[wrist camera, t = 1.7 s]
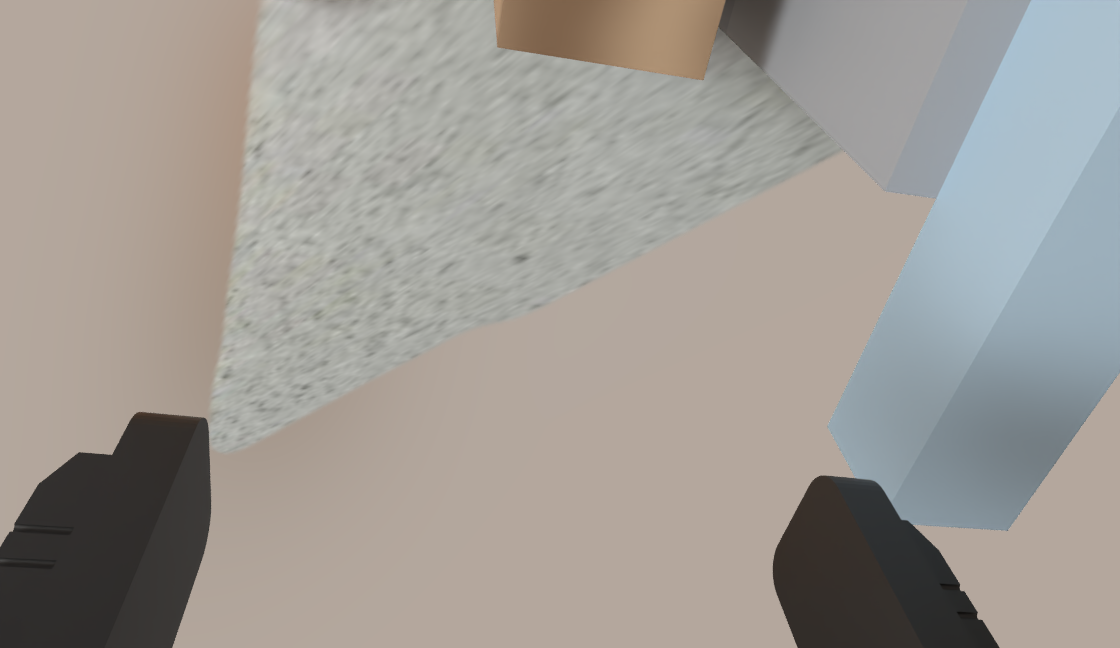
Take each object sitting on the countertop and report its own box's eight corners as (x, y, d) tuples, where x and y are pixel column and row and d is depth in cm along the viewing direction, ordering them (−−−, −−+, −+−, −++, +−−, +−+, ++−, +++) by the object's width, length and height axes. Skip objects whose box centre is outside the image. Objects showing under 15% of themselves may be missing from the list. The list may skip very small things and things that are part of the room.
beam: (1483, -491, 14) (1792, -577, 11) (940, 436, 26) (1007, 530, 23) (1296, -556, 13) (1566, -669, 10) (827, 426, 25) (879, 522, 22)
